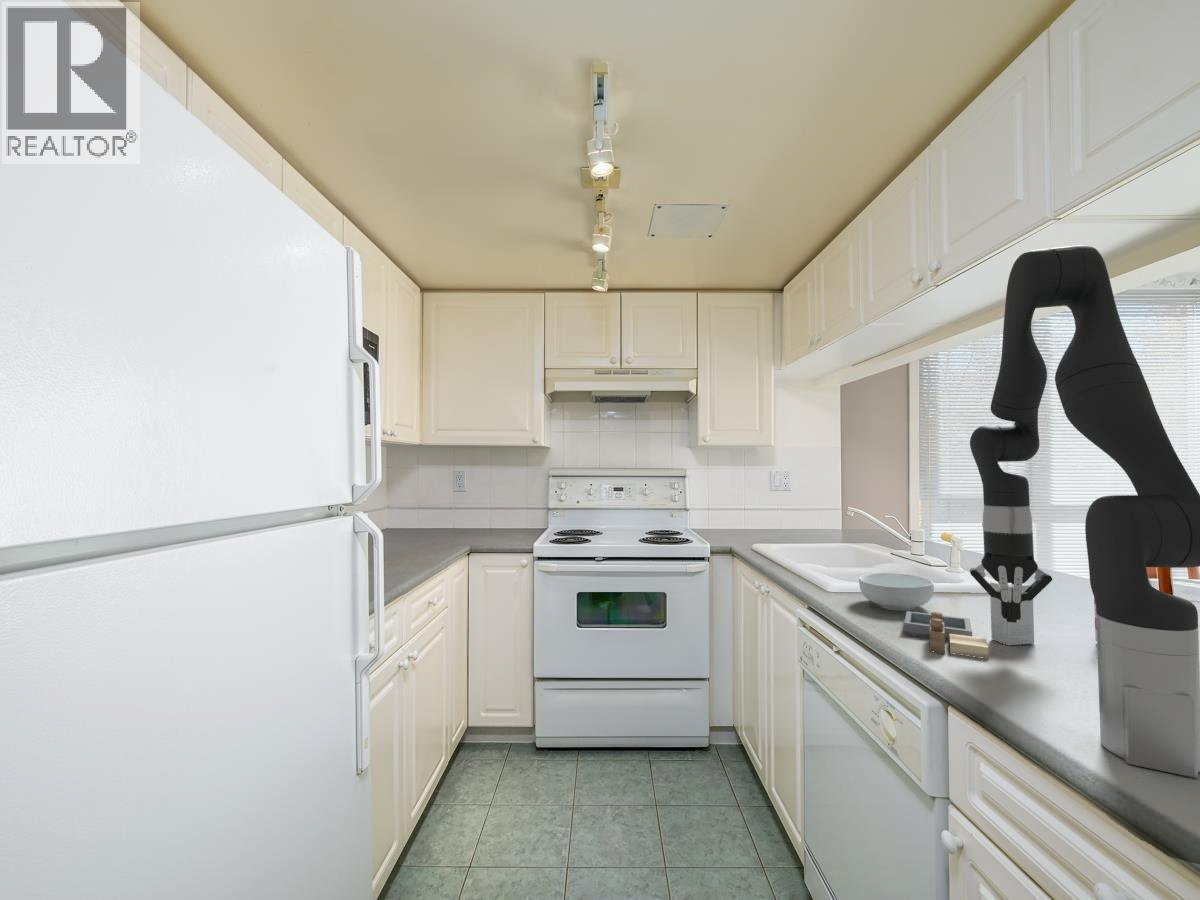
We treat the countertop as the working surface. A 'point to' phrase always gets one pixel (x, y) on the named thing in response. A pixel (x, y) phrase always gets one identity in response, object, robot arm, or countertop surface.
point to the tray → (921, 625)
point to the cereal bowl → (896, 590)
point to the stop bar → (937, 633)
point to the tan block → (968, 645)
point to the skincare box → (1010, 630)
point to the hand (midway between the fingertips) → (1011, 621)
